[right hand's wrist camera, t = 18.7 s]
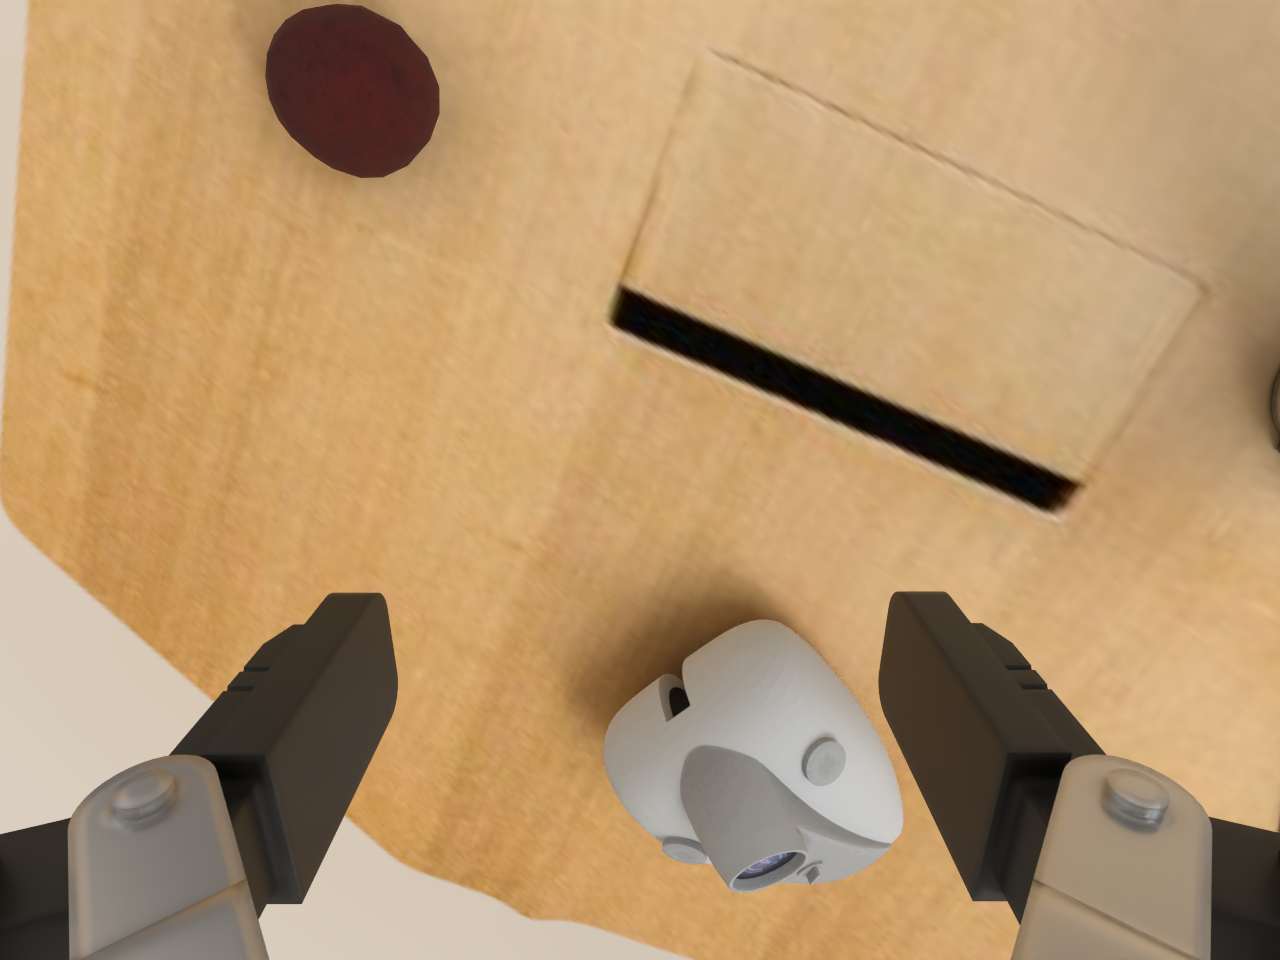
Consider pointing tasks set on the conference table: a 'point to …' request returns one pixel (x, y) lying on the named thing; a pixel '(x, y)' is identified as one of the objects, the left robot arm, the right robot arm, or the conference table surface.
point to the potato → (352, 89)
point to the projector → (756, 764)
